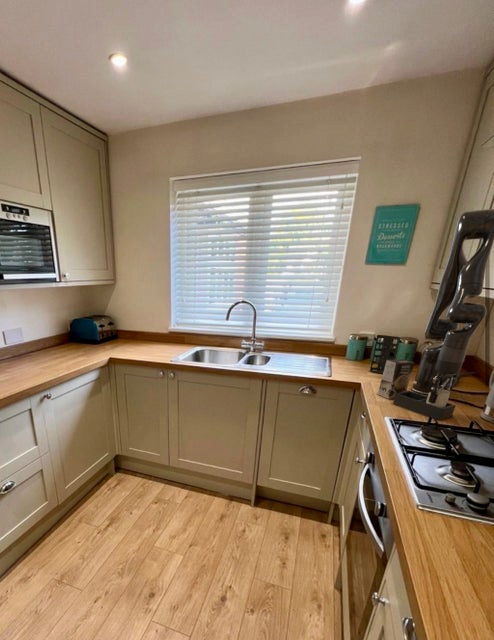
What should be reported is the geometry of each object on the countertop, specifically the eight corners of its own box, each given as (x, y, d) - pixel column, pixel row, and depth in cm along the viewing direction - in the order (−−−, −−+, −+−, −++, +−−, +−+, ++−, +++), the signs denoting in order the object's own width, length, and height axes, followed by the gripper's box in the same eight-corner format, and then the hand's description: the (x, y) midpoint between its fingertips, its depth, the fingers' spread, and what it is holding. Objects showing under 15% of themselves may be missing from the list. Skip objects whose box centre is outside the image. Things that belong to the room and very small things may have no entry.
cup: (429, 405, 133) (435, 387, 130) (446, 411, 127) (453, 392, 125) (420, 408, 130) (426, 389, 127) (438, 414, 125) (444, 394, 122)
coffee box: (388, 399, 143) (398, 363, 137) (376, 394, 148) (385, 359, 142) (405, 397, 145) (415, 362, 139) (393, 392, 151) (402, 358, 145)
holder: (370, 372, 179) (379, 335, 174) (367, 370, 186) (375, 334, 181) (393, 375, 176) (402, 337, 171) (389, 372, 183) (398, 336, 178)
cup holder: (405, 400, 142) (408, 390, 140) (452, 416, 128) (455, 405, 126) (392, 404, 138) (395, 393, 136) (439, 420, 124) (443, 409, 122)
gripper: (451, 363, 115) (436, 407, 121) (472, 359, 121) (457, 401, 127) (428, 358, 121) (415, 400, 127) (449, 355, 127) (436, 395, 134)
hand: (436, 401), depth 127 cm, fingers closed on cup, 6 cm apart
